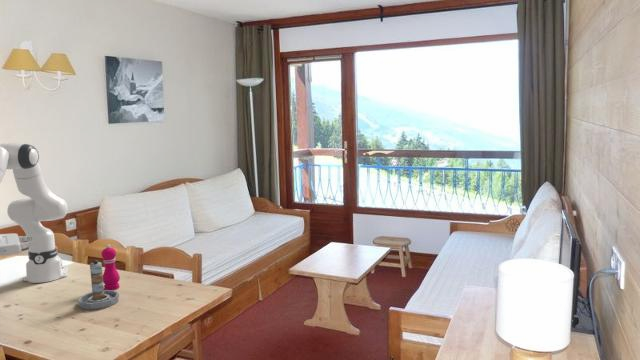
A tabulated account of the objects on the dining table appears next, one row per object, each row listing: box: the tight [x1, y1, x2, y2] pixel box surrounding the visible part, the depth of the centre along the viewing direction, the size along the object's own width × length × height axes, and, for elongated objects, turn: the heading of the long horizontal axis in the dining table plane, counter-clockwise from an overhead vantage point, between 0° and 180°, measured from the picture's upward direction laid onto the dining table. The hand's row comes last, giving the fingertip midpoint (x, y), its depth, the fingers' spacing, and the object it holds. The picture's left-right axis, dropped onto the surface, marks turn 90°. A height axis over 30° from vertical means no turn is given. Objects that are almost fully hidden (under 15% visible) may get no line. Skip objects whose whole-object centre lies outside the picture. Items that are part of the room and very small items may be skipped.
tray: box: [77, 289, 120, 311], centre depth 209 cm, size 15×15×3 cm
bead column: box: [89, 259, 105, 300], centre depth 208 cm, size 4×4×17 cm
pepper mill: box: [101, 244, 121, 291], centre depth 225 cm, size 7×7×20 cm
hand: (33, 240), depth 199 cm, fingers open, 8 cm apart
